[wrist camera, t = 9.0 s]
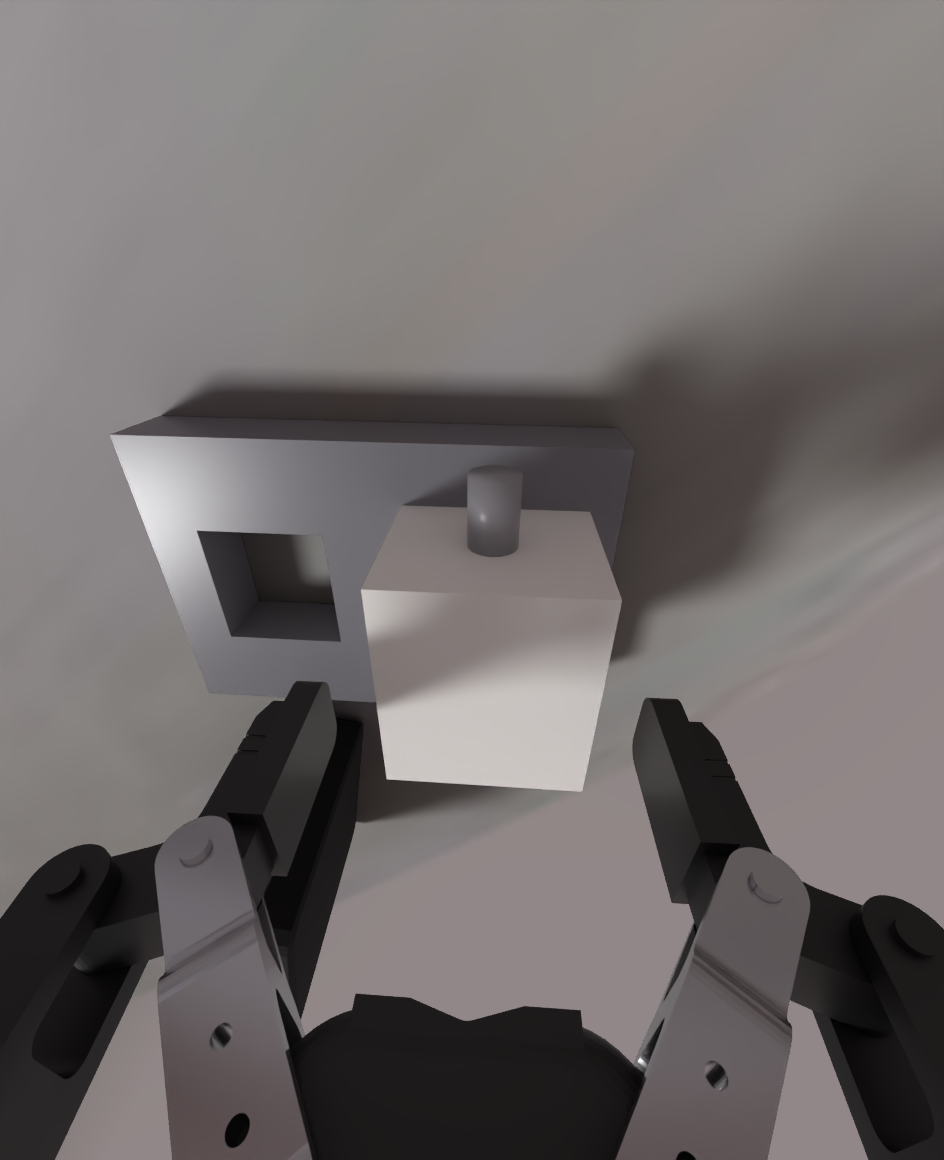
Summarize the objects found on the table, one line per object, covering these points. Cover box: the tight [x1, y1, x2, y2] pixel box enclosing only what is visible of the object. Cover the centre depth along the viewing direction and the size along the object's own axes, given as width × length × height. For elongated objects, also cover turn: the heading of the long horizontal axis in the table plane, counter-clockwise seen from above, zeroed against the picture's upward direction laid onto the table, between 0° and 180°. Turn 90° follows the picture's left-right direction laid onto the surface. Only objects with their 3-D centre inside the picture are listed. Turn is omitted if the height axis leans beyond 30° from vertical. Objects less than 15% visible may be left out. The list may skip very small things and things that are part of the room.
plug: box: [361, 465, 622, 792], centre depth 15 cm, size 9×6×7 cm, turn 0°
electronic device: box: [263, 719, 363, 1020], centre depth 23 cm, size 4×10×10 cm, turn 170°
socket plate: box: [110, 416, 635, 702], centre depth 18 cm, size 11×16×2 cm
